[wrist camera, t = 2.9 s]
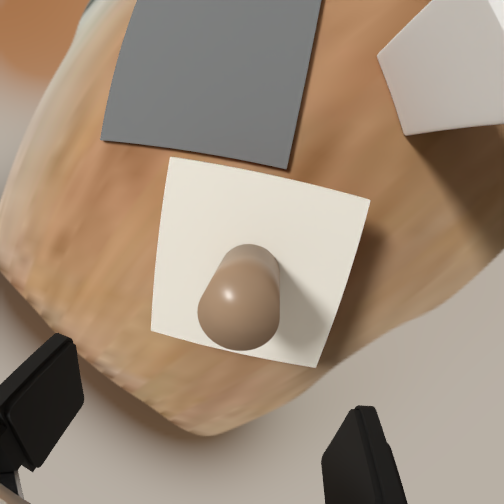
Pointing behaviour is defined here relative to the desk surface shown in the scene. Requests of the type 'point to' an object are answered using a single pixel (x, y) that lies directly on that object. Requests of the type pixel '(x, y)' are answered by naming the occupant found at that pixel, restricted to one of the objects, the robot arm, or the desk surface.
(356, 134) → the desk surface
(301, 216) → the cover
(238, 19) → the mat
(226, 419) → the desk surface
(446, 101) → the milk carton
